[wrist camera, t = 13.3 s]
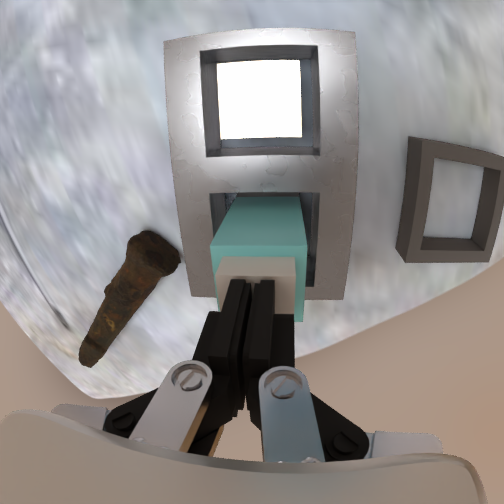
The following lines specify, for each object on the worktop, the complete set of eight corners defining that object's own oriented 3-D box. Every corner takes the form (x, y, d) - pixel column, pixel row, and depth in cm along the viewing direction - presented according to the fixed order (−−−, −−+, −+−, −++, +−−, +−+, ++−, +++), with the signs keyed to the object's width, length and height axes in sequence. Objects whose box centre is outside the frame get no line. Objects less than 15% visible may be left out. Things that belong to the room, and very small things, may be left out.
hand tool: (148, 219, 21) (120, 246, 17) (187, 252, 22) (166, 285, 18) (79, 329, 29) (60, 354, 25) (105, 349, 30) (88, 376, 26)
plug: (298, 190, 19) (310, 264, 10) (297, 243, 21) (303, 343, 12) (239, 190, 19) (200, 263, 11) (242, 243, 21) (213, 340, 12)
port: (340, 47, 14) (361, 25, 9) (334, 268, 21) (346, 312, 17) (186, 53, 15) (153, 36, 11) (205, 266, 22) (186, 308, 18)
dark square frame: (494, 153, 15) (510, 159, 13) (476, 250, 19) (488, 262, 17) (408, 136, 16) (422, 140, 14) (395, 248, 20) (405, 262, 18)
